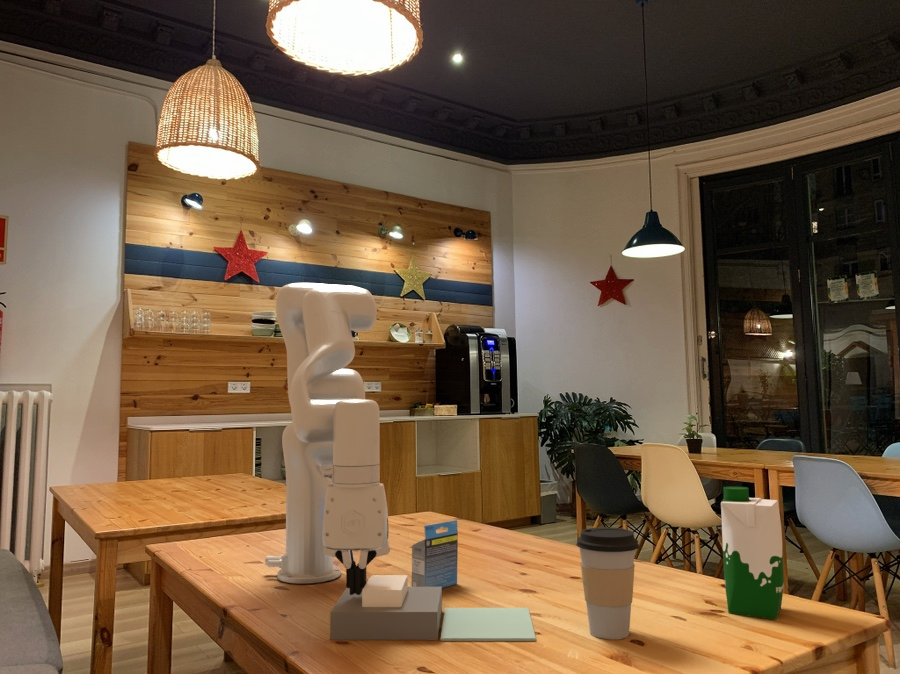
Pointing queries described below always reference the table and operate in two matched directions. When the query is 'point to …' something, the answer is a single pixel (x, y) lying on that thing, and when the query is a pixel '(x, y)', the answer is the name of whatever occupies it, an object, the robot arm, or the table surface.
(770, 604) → the milk carton
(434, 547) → the label tape box
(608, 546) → the coffee cup
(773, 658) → the table surface
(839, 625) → the table surface
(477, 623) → the mat
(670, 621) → the table surface
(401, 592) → the tile
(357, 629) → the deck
